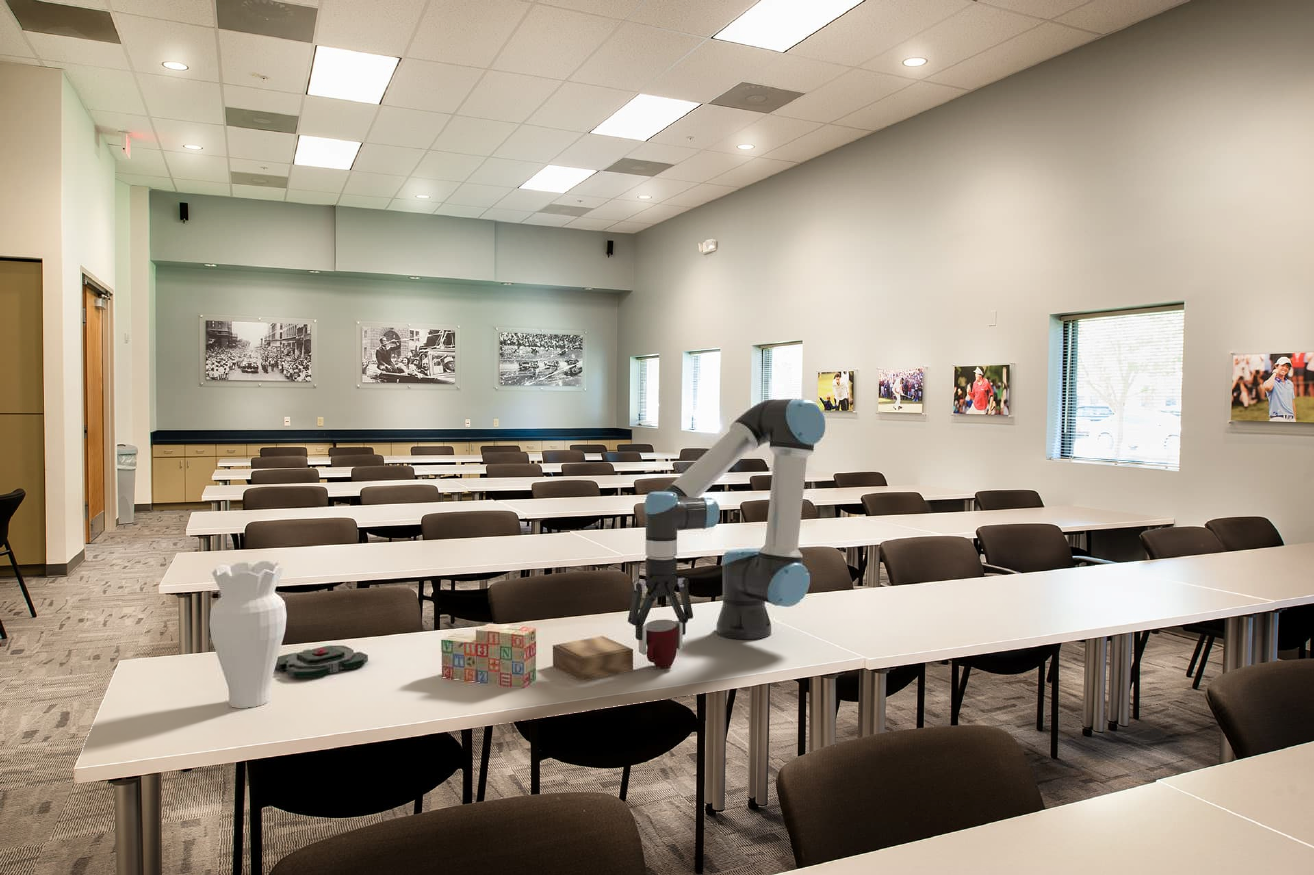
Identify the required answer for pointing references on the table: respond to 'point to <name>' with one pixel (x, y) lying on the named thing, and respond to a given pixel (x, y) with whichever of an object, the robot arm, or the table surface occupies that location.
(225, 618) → the vase
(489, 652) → the stack of blocks
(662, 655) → the mug
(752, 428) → the robot arm
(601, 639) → the walnut block
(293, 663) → the four-lobed dark green device
